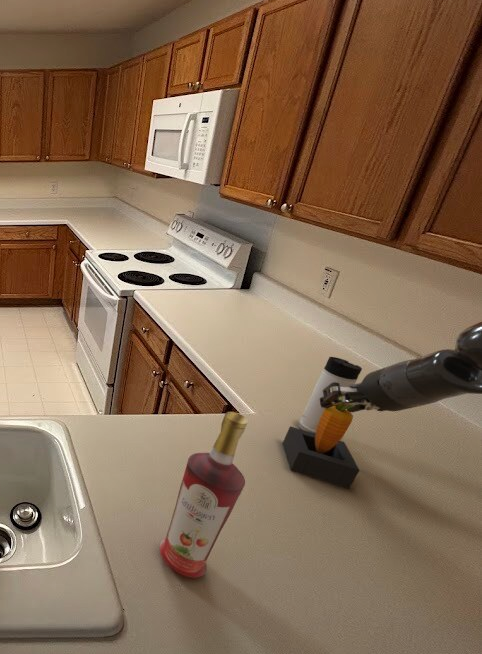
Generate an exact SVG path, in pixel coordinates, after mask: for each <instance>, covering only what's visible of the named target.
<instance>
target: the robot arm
mask: <svg viewBox="0 0 482 654" xmlns="http://www.w3.org/2000/svg"><path fill="white" fill-rule="evenodd" d="M470 394H472V395H482V321H479V322H477V323H475V324H473V325H472V324H471V326H469V327H465V329H464V330H462V331H461V332H459V334H457V336H456V338H455V341H454V349H453V348H452V349H450V348H448V349H447V348H446V349H445V348H444V349H441V350H436V351H433V352H431V353H428V354H424V355H422V356H418V357H416V358H413V359H408V360H402V361H399V362H397V363H393V364H390V365H388V366H386V367H383V368H380V369H376V370H373V371H371V372H368V373H367V374H366V375H365V376H364V378H363V379H362V380H361V382H358V383H357V382H356V383H355V384H354V385H350V386H348V387H340V385H339V383H336V382H334V383H331V384H330V385H328V386H327V387H326V388H325V389H323V395H324V397H321V398H320V405H321V407H322V408H329V407H332V406H336V405H339V404H345V405H349V406H350V405H354V406H355V407H352V408H349V409H346V410H347V411H349V412H350V413H356V412H359V411H364V410H365V411H373V410H376V411H377V412H387V411H388V412H400V411H404V410H409V409H413V408H418V407H422V406H427V405H430V404H431V405H432V404H434V403H437V402H440V401H442V400H445V399H450V398H454V397H458V396H462V395H470ZM339 397H340V398H342V399H341V400H339ZM351 400H352V401H351Z"/></svg>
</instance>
